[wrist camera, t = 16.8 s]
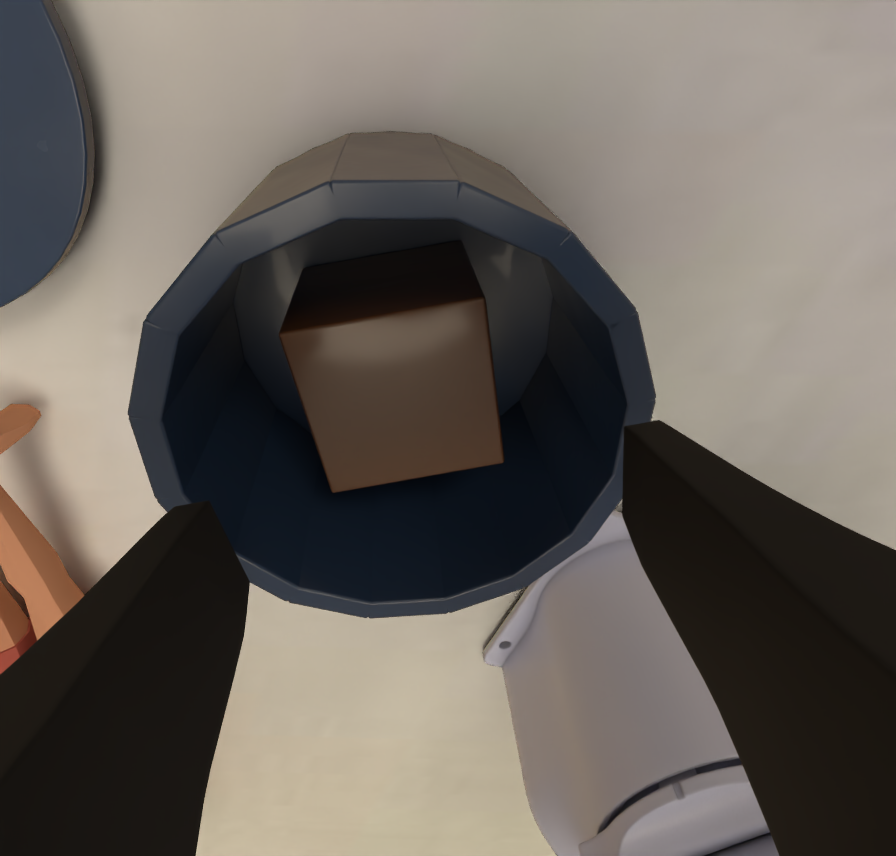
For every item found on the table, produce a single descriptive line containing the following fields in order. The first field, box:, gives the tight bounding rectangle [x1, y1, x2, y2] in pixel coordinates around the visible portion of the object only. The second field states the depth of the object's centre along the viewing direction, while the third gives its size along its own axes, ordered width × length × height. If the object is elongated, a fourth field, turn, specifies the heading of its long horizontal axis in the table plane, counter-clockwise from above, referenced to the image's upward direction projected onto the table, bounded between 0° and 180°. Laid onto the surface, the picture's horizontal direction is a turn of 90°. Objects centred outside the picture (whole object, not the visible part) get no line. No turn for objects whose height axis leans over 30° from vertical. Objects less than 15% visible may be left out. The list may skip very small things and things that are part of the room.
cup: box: [128, 131, 656, 618], centre depth 14 cm, size 10×10×7 cm
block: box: [279, 241, 505, 493], centre depth 15 cm, size 4×4×4 cm
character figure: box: [0, 404, 85, 674], centre depth 23 cm, size 7×4×25 cm
